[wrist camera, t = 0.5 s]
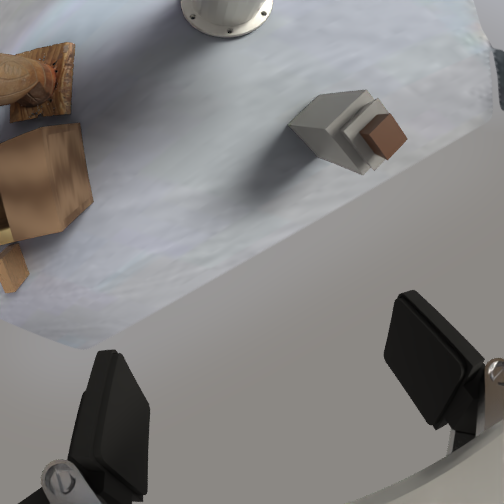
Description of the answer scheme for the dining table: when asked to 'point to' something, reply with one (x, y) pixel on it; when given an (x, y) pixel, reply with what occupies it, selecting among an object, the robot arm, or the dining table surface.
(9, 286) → the tan flat square block
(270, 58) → the dining table surface
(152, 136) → the dining table surface
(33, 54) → the bird sculpture
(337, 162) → the perfume bottle
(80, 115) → the dining table surface
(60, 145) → the box
